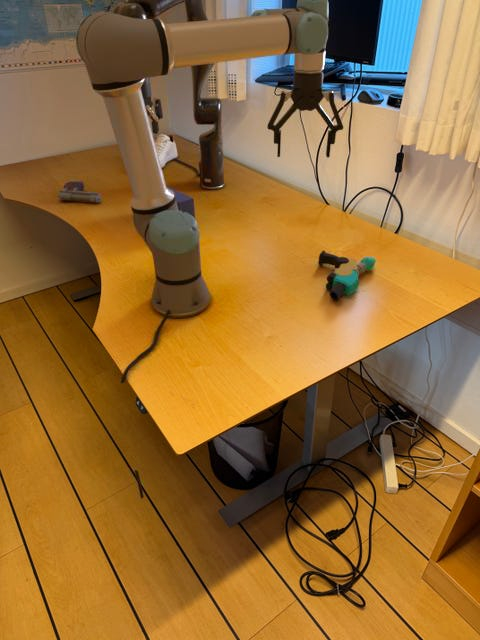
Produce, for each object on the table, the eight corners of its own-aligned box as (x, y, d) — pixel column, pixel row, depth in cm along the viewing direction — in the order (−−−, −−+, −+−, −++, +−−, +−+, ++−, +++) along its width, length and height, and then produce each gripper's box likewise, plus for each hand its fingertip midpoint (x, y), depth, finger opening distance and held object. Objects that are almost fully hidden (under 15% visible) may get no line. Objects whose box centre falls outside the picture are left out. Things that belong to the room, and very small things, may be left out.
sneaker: (133, 173, 208) (129, 144, 201) (161, 153, 230) (158, 127, 223) (155, 175, 205) (151, 146, 198) (180, 155, 227) (178, 129, 220)
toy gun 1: (114, 191, 191) (98, 206, 179) (71, 188, 194) (53, 202, 182) (113, 181, 188) (96, 196, 177) (69, 179, 192) (50, 192, 180)
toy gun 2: (295, 281, 124) (351, 295, 119) (328, 242, 143) (378, 253, 137) (294, 295, 127) (349, 310, 121) (327, 255, 145) (375, 266, 140)
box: (196, 230, 161) (193, 198, 154) (182, 236, 158) (179, 202, 151) (156, 210, 175) (152, 179, 168) (143, 215, 172) (138, 183, 165)
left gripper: (356, 68, 122) (346, 152, 135) (260, 68, 124) (259, 151, 136) (360, 73, 116) (349, 160, 129) (258, 73, 118) (257, 159, 130)
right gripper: (150, 76, 152) (156, 129, 161) (110, 82, 144) (119, 138, 154) (163, 79, 147) (169, 134, 157) (123, 86, 140) (131, 142, 149)
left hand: (303, 155), depth 133 cm, fingers open, 13 cm apart
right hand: (144, 135), depth 155 cm, fingers open, 8 cm apart
